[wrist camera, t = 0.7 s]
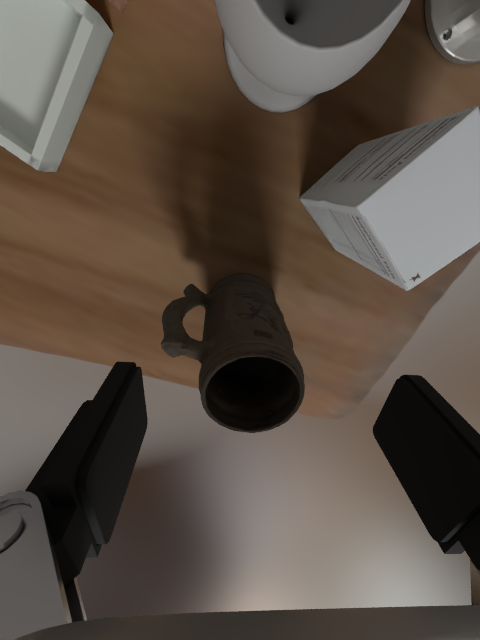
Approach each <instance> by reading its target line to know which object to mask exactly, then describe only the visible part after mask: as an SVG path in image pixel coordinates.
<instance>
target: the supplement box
mask: <svg viewBox="0 0 480 640" xmlns="http://www.w3.org/2000/svg"><path fill="white" fill-rule="evenodd" d="M300 200H301V202H302V203H303V205H304V206H305V208H306V209H307V211H308V212H309V213H310V215H311V216H312V218H313V219H314V221H315V222H316V223H317V225H318V226H319V228H320V229H321V230H322V232H323V233H324V235H325V236H326V238H327V239H328V240H329V242H330V243H331V245H332V246H333V248H334V249H335V250H336V251H338V252H340V253H342V254H343V255H345V256H347V257H349V258H350V259H352V260H354V261H356V262H358V263H359V264H361V265H363V266H365V267H366V268H368V269H370V270H372V271H373V272H375V273H377V274H378V275H380V276H382V277H384V278H385V279H387V280H389V281H391V282H392V283H394V284H396V285H398V286H399V287H401V288H403V289H405V290H407V291H408V290H410V289H411V288H413V287H415V286H416V285H418V284H419V283H421V282H422V281H423V280H425V279H426V278H428V277H429V276H431V275H432V274H434V273H435V272H437V271H438V270H440V269H441V268H442V267H444V266H445V265H447V264H448V263H450V262H451V261H453V260H454V259H456V258H457V257H459V256H460V255H461V254H463V253H464V252H466V251H467V250H469V249H470V248H472V247H473V246H475V245H476V244H478V243H479V242H480V111H479V107H478V106H475V107H471V108H468V109H465V110H462V111H459V112H456V113H453V114H450V115H447V116H444V117H441V118H438V119H435V120H432V121H429V122H426V123H423V124H420V125H417V126H413V127H410V128H407V129H404V130H401V131H398V132H395V133H392V134H389V135H386V136H383V137H380V138H377V139H374V140H371V141H368V142H365V143H362V144H359V145H357V146H356V147H355V148H354V149H353V150H351V151H350V152H349V153H348V154H347V155H346V156H345V157H344V158H343V159H341V160H340V161H339V162H338V163H337V164H336V165H335V166H334V167H333V168H331V169H330V170H329V171H328V172H327V173H326V174H325V175H324V176H323V177H322V178H320V179H319V180H318V181H317V182H316V183H315V184H314V185H313V186H312V187H310V188H309V189H308V190H307V191H306V192H305V193H304V194H303V195H302V196H301V197H300Z"/></svg>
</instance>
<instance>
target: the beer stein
mask: <svg viewBox="0 0 480 640" xmlns="http://www.w3.org/2000/svg"><path fill="white" fill-rule="evenodd" d="M183 292H184V295H185V297H182V298H179V299H176V300H174V301H172V302H171V303H170V304H169V305H168V306H167V307H166V308H165V310H164V312H163V316H162V323H163V330H164V339H163V341H162V342H161V348H162V349H163V350H164V351H165V353H166V354H167V355H169V356H171V357H177V356H180V355H185V356H187V357H190V358H193V359H196V360H198V361H199V362H200V363H201V365H202V366H201V370H200V374H199V391H200V394H201V401H202V405H203V408H204V409H205V411H206V413H207V414H208V416H209V417H210V418H212V419H213V420H214V421H215V422H217V423H218V424H219V425H221V426H224V427H226V428H228V429H231V430H234V431H240V432H249V433H255V432H262V431H267V430H271V429H273V428H275V427H278V426H280V425H282V424H284V423H285V422H287V421H288V420H289V419H290V418H291V417H292V416H293V415H294V414H295V413H296V411H297V410H298V408H299V406H300V405H301V403H302V400H303V397H304V389H305V385H304V374H303V369H302V367H301V364H300V362H299V360H298V359H297V357H296V355H295V354H294V351H293V342H292V339H291V336H290V333H289V331H288V329H287V327H286V324H285V321H284V317H283V314H282V312H281V311H280V308H279V306H278V305H277V303H276V300H275V296H274V294H273V292H272V290H271V288H270V287H269V286H268V285H267V284H266V283H265V282H264V281H262V280H261V279H259V278H258V277H255V276H252V275H248V274H237V275H231V276H229V277H227V278H225V279H223V280H221V281H220V282H219V283H217V285H216V286H215V287H214V288H213V289H212V291H211V292H210V294H209V295H208V294H205V293H203V292H201V291H200V290H199V289H198V288H197V287H196V286H194V285H193V284H190V285H188V286H187V287H186V288H185V290H184V291H183ZM198 305H201V306H204V307H205V309H206V313H205V322H204V331H203V339H202V341H197V340H195V339H192V338H190V337H189V336H188V334H187V333H186V331H185V329H184V327H183V324H182V321H183V317H184V316H185V314H186V313H187V312H188V311H189V310H191V309H192V308H194V307H196V306H198Z"/></svg>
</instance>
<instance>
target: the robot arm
mask: <svg viewBox="0 0 480 640" xmlns="http://www.w3.org/2000/svg"><path fill="white" fill-rule="evenodd" d="M425 18H426V26H427V29H428V33H429V36H430V39H431V41H432V43H433V45H434V47H435V48H436V50H437V51H438V52H439V53H440V54H441V55H442V56H443V57H444V58H446V59H447V60H449V61H451V62H453V63H458V64H462V65H463V64H474V63H478V62H480V0H425ZM146 428H147V412H146V404H145V397H144V387H143V379H142V370H141V367H136V364H135V363H134V362H116V363H115V365H114V366H113V368H112V370H111V371H110V373H109V374H108V376H107V378H106V379H105V381H104V383H103V384H102V386H101V387H100V389H99V391H98V393H97V394H96V395H95V397H94V399H93V400H87V401H86V402H84V403H83V404H82V406H81V407H80V408H79V410H78V411H77V413H76V414H75V416H74V417H73V419H72V420H71V422H70V423H69V425H68V427H67V428H66V430H65V431H64V433H63V434H62V436H61V437H60V439H59V440H58V442H57V443H56V445H55V446H54V448H53V450H52V451H51V452H50V454H49V456H48V457H47V459H46V460H45V462H44V464H43V465H42V466H41V468H40V469H39V471H38V472H37V474H36V475H35V477H34V478H33V480H32V482H31V483H30V484H29V486H28V488H27V489H26V491H17V492H12V493H8V494H5V495H3V496H1V497H0V640H480V434H479V433H478V432H477V431H476V430H475V429H474V428H473V427H472V426H471V425H470V424H468V422H467V421H466V420H465V419H464V418H463V417H462V416H461V415H460V414H459V413H458V412H457V411H456V410H455V409H454V408H453V407H452V406H451V405H450V404H449V403H448V402H447V401H446V400H445V399H444V398H443V397H442V396H441V395H440V394H439V393H438V392H437V391H436V390H435V389H434V388H433V387H432V386H431V385H430V384H429V383H428V382H427V381H426V380H425V379H424V378H423V377H422V376H418V375H402V376H401V377H400V378H399V379H397V380H396V382H395V384H394V386H393V388H392V390H391V392H390V394H389V396H388V398H387V400H386V402H385V404H384V406H383V408H382V410H381V412H380V414H379V416H378V418H377V420H376V422H375V425H374V427H373V434H374V436H375V439H376V440H377V442H378V444H379V446H380V447H381V449H382V451H383V453H384V454H385V456H386V458H387V460H388V462H389V463H390V465H391V467H392V469H393V470H394V472H395V474H396V476H397V477H398V479H399V481H400V482H401V484H402V486H403V488H404V490H405V492H406V493H407V495H408V497H409V498H410V500H411V502H412V504H413V506H414V507H415V509H416V511H417V513H418V514H419V516H420V518H421V520H422V522H423V523H424V525H425V527H426V529H427V530H428V532H429V534H430V535H431V536H432V538H433V539H434V540H436V541H437V542H438V543H439V545H440V547H441V549H442V550H443V552H444V553H445V554H461V553H463V552H464V551H466V553H467V554H468V556H469V557H470V571H471V602H472V605H468V606H418V607H384V608H383V607H381V608H380V607H379V608H341V609H307V610H306V609H303V610H270V611H239V612H207V613H183V614H162V615H144V616H126V617H111V618H104V619H94V620H87V618H86V614H85V610H84V607H83V603H82V599H81V595H80V592H79V588H78V584H77V580H76V576H77V575H79V574H80V571H81V569H82V566H83V564H84V561H85V558H86V557H98V554H99V551H100V549H101V546H102V544H107V543H108V542H109V540H110V537H111V535H112V532H113V529H114V526H115V523H116V520H117V517H118V514H119V511H120V508H121V505H122V502H123V499H124V496H125V493H126V490H127V487H128V484H129V480H130V477H131V475H132V472H133V469H134V466H135V462H136V460H137V457H138V454H139V451H140V447H141V444H142V441H143V438H144V435H145V432H146Z"/></svg>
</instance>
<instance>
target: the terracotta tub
mask: <svg viewBox="0 0 480 640" xmlns="http://www.w3.org/2000/svg"><path fill="white" fill-rule="evenodd" d="M108 1H109V2H110V3H111V4H112V5H113V6H114V7H115V8H117V9H118V10H119V11H120V12H121V13H123V10H124V8H125V5H126V3H127V1H128V0H108Z"/></svg>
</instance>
